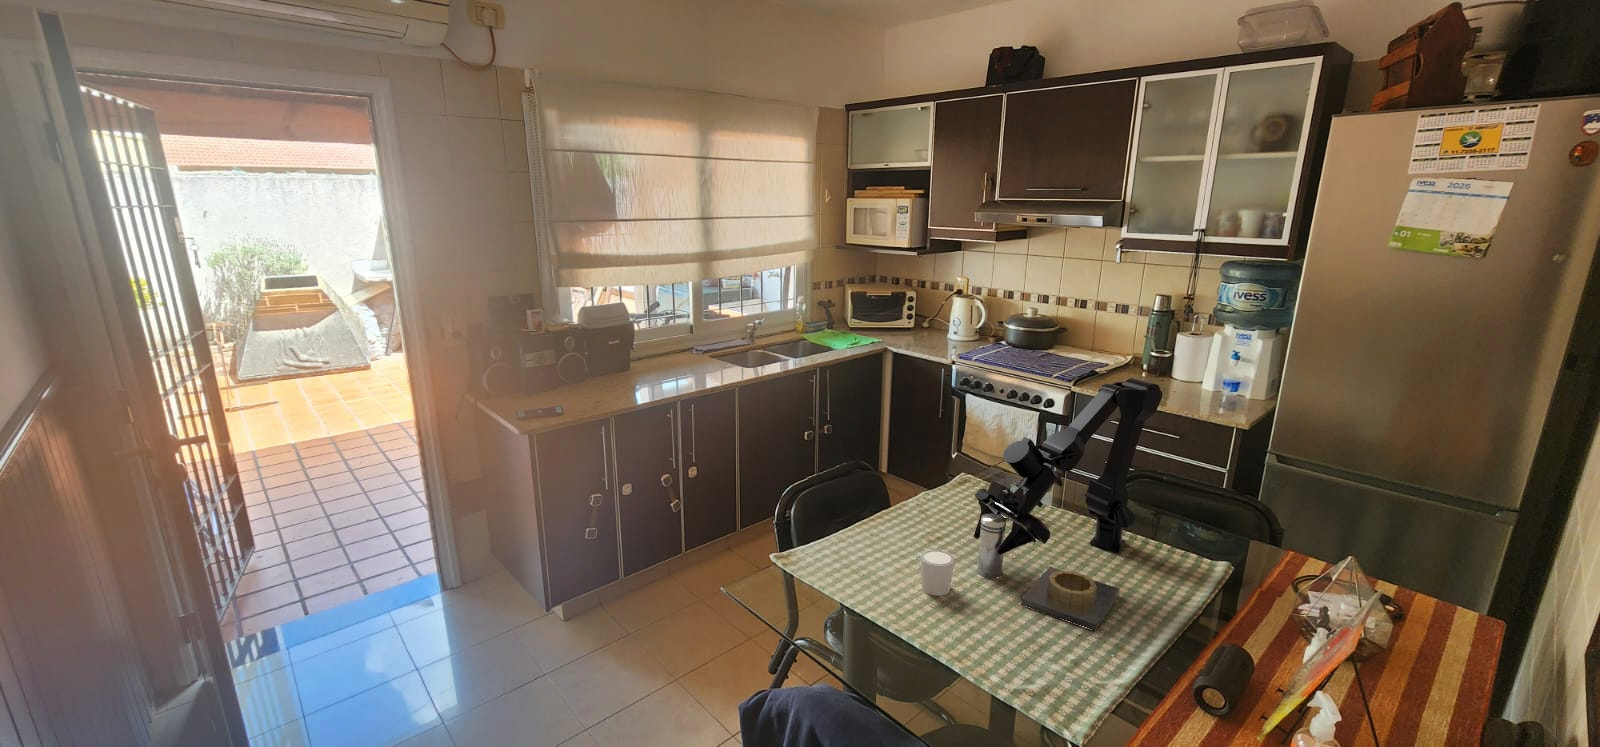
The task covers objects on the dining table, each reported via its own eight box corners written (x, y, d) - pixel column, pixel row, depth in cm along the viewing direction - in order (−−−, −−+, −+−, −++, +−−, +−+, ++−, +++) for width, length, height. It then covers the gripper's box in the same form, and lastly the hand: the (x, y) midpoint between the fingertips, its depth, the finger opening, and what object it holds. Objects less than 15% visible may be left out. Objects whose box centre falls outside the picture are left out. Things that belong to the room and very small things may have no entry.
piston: (983, 564, 148) (987, 511, 145) (1005, 571, 145) (1010, 518, 142) (973, 573, 144) (977, 519, 141) (996, 581, 141) (1000, 526, 138)
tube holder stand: (1049, 572, 144) (1050, 555, 143) (1118, 595, 136) (1121, 577, 135) (1021, 605, 132) (1022, 586, 131) (1095, 631, 123) (1097, 612, 123)
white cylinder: (933, 600, 134) (934, 568, 132) (912, 584, 140) (913, 553, 138) (959, 592, 137) (961, 560, 135) (938, 576, 143) (939, 546, 141)
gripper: (983, 453, 149) (939, 507, 147) (1044, 483, 132) (995, 544, 130) (1009, 481, 154) (967, 534, 152) (1071, 513, 137) (1024, 573, 135)
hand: (986, 545), depth 142 cm, fingers open, 7 cm apart
